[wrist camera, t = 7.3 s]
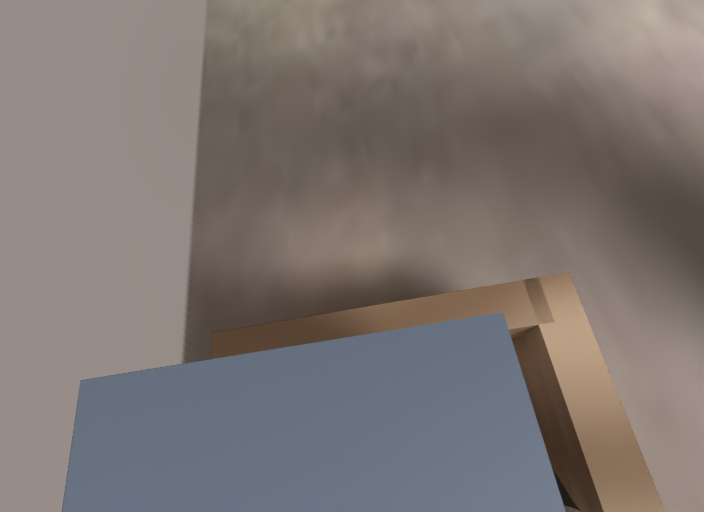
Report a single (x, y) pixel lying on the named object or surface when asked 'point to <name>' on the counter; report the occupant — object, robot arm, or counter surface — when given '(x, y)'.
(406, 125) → the counter surface
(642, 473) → the oak corner bracket
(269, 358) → the slate block
